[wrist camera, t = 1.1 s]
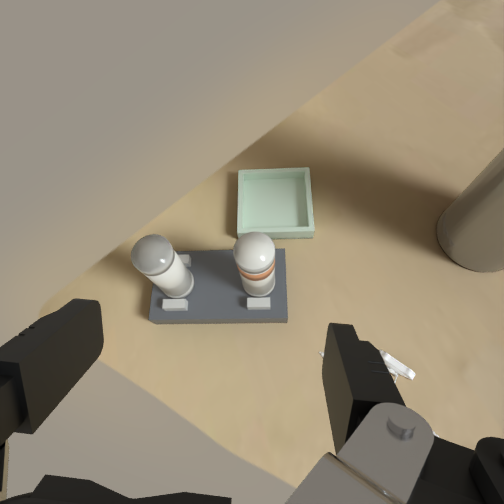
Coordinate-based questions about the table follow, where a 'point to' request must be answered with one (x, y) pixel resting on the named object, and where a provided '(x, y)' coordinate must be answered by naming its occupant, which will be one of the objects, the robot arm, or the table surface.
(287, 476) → the table surface
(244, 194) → the tray
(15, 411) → the robot arm
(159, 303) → the fuse holder
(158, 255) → the plain fuse
